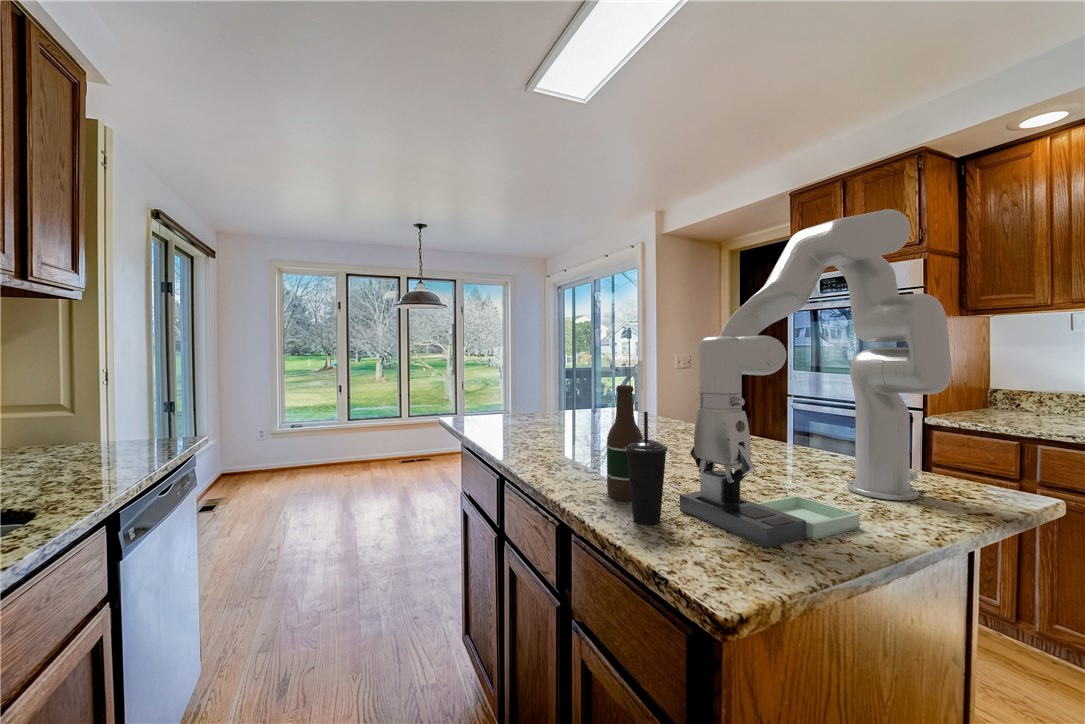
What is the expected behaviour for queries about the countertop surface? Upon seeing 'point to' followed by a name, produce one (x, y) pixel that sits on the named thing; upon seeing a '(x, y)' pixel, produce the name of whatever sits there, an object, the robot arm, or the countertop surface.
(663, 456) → the drinking cup
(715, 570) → the countertop surface
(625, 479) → the beer bottle
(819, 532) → the parts tray
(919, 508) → the countertop surface
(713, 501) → the block
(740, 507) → the grey slotted block
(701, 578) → the countertop surface
